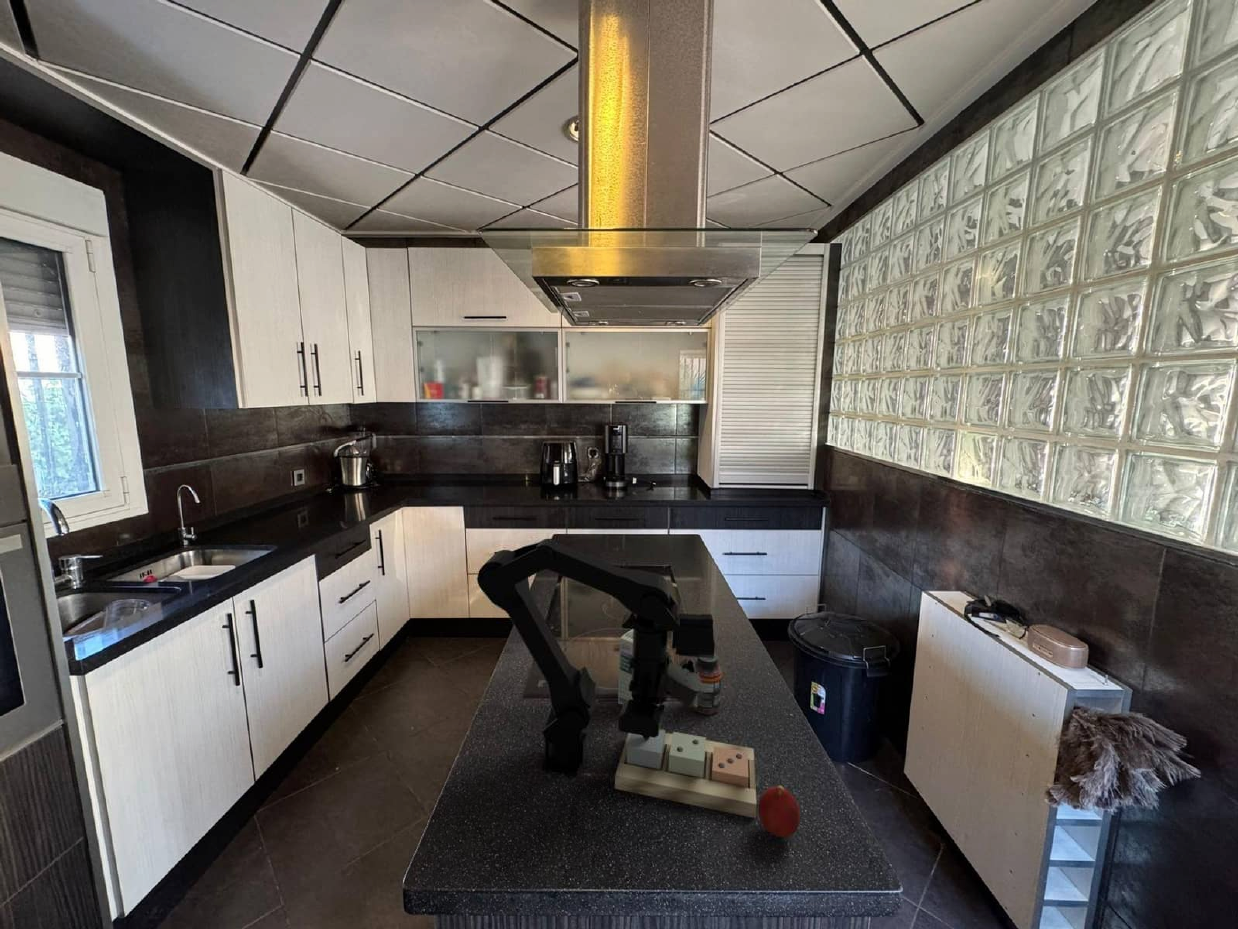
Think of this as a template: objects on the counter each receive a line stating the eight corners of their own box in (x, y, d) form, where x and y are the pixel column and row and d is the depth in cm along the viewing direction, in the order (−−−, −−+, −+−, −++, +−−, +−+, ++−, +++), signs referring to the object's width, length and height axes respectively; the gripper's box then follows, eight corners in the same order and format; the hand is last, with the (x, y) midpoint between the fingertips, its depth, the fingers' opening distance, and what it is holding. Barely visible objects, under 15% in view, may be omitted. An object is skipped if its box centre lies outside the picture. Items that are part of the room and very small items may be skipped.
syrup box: (616, 703, 101) (618, 637, 99) (632, 689, 106) (634, 626, 104) (640, 714, 98) (642, 646, 96) (655, 699, 103) (657, 634, 101)
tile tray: (614, 788, 80) (615, 775, 79) (630, 738, 91) (630, 726, 91) (755, 818, 75) (756, 804, 74) (752, 761, 86) (753, 748, 86)
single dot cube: (626, 763, 82) (627, 746, 82) (633, 740, 87) (633, 724, 87) (659, 769, 81) (660, 752, 80) (664, 745, 86) (665, 729, 86)
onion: (766, 810, 76) (769, 764, 75) (803, 832, 73) (808, 784, 71) (750, 836, 72) (753, 787, 70) (789, 860, 68) (793, 809, 67)
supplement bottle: (695, 694, 105) (698, 645, 103) (723, 703, 102) (726, 652, 100) (686, 710, 99) (689, 658, 98) (715, 720, 97) (718, 666, 95)
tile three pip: (711, 787, 79) (712, 769, 79) (712, 761, 85) (713, 745, 84) (747, 794, 78) (748, 776, 77) (746, 768, 83) (747, 751, 83)
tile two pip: (668, 771, 81) (669, 754, 80) (672, 747, 86) (673, 731, 85) (702, 778, 79) (704, 760, 79) (705, 753, 85) (705, 737, 84)
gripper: (694, 692, 70) (689, 789, 73) (702, 631, 88) (698, 710, 91) (618, 680, 73) (616, 774, 75) (641, 623, 91) (638, 700, 93)
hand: (646, 736), depth 84 cm, fingers closed
